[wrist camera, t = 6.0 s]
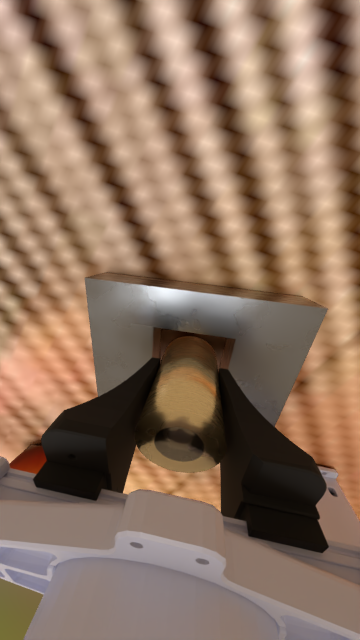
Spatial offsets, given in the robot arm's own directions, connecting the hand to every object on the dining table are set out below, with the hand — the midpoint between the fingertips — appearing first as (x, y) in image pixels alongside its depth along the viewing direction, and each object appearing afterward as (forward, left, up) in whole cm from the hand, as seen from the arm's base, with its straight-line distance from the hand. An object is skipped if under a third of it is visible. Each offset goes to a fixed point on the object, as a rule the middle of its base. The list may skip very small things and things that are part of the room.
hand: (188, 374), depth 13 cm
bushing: (0, 0, -2) cm, 2 cm away
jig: (0, 0, -4) cm, 4 cm away
